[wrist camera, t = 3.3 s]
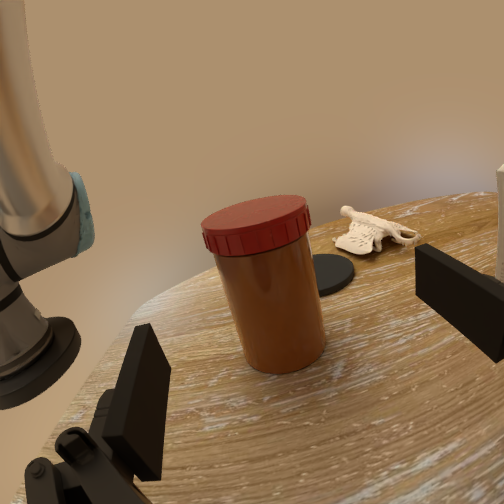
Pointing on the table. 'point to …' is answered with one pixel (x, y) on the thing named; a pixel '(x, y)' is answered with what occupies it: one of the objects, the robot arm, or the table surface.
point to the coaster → (332, 272)
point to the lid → (256, 225)
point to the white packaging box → (500, 225)
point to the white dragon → (369, 232)
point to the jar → (275, 306)
